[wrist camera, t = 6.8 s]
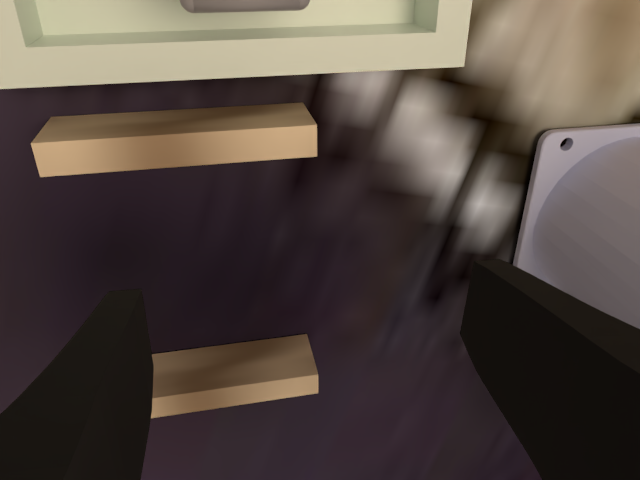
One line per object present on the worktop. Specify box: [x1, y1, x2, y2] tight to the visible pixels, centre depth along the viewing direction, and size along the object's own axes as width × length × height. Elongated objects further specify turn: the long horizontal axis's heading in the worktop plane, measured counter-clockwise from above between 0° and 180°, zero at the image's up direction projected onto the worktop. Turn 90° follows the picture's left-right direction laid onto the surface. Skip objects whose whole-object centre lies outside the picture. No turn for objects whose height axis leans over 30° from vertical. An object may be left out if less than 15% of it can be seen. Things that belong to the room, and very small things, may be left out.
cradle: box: [31, 102, 318, 418], centre depth 19 cm, size 8×11×2 cm
